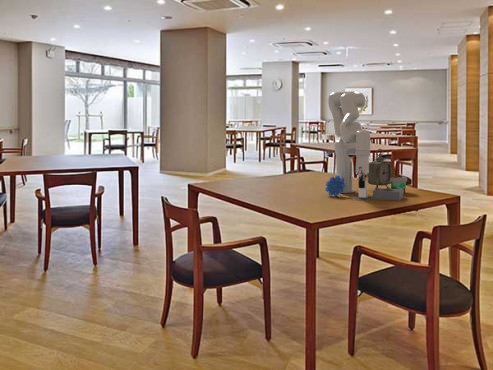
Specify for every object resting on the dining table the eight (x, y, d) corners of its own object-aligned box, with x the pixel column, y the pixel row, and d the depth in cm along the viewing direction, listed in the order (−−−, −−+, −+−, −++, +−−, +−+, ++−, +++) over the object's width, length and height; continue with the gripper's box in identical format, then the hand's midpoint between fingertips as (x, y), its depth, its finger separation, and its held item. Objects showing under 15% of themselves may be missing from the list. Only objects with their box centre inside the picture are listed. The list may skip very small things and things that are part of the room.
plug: (358, 197, 265) (357, 178, 263) (360, 195, 268) (360, 176, 267) (366, 197, 263) (366, 178, 261) (368, 196, 266) (368, 177, 265)
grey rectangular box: (372, 200, 264) (372, 190, 263) (377, 197, 273) (377, 188, 272) (399, 201, 257) (399, 192, 257) (403, 198, 266) (403, 189, 265)
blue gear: (347, 195, 282) (347, 174, 281) (344, 197, 276) (344, 176, 274) (327, 194, 287) (326, 174, 285) (324, 196, 280) (324, 175, 279)
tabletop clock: (378, 192, 288) (378, 150, 284) (365, 191, 295) (365, 149, 291) (392, 189, 297) (392, 148, 294) (379, 188, 304) (380, 147, 300)
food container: (399, 196, 273) (399, 178, 272) (389, 195, 278) (389, 177, 276) (411, 193, 281) (411, 176, 279) (402, 192, 285) (402, 175, 284)
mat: (351, 201, 264) (351, 199, 264) (356, 197, 272) (356, 196, 272) (369, 202, 259) (369, 200, 259) (374, 198, 268) (374, 197, 268)
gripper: (360, 152, 271) (360, 184, 274) (351, 154, 257) (351, 189, 259) (374, 152, 268) (373, 185, 270) (365, 155, 253) (365, 190, 256)
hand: (363, 187), depth 265 cm, fingers closed on plug, 4 cm apart
